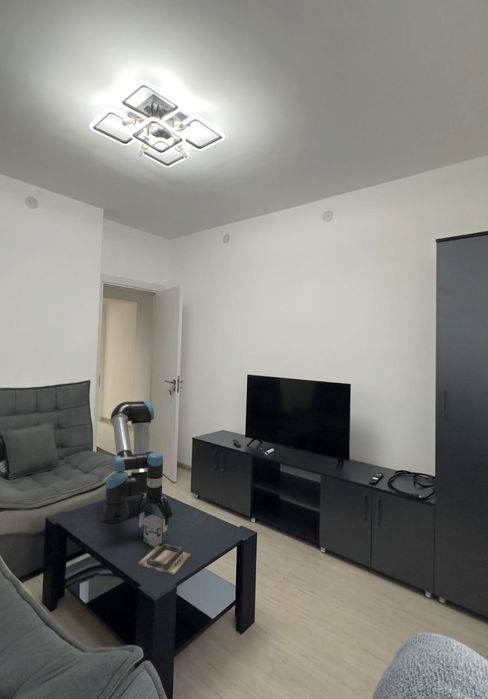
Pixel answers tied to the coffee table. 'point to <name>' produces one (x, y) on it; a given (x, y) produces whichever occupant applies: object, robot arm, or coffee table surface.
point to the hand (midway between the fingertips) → (153, 528)
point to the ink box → (153, 530)
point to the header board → (165, 559)
